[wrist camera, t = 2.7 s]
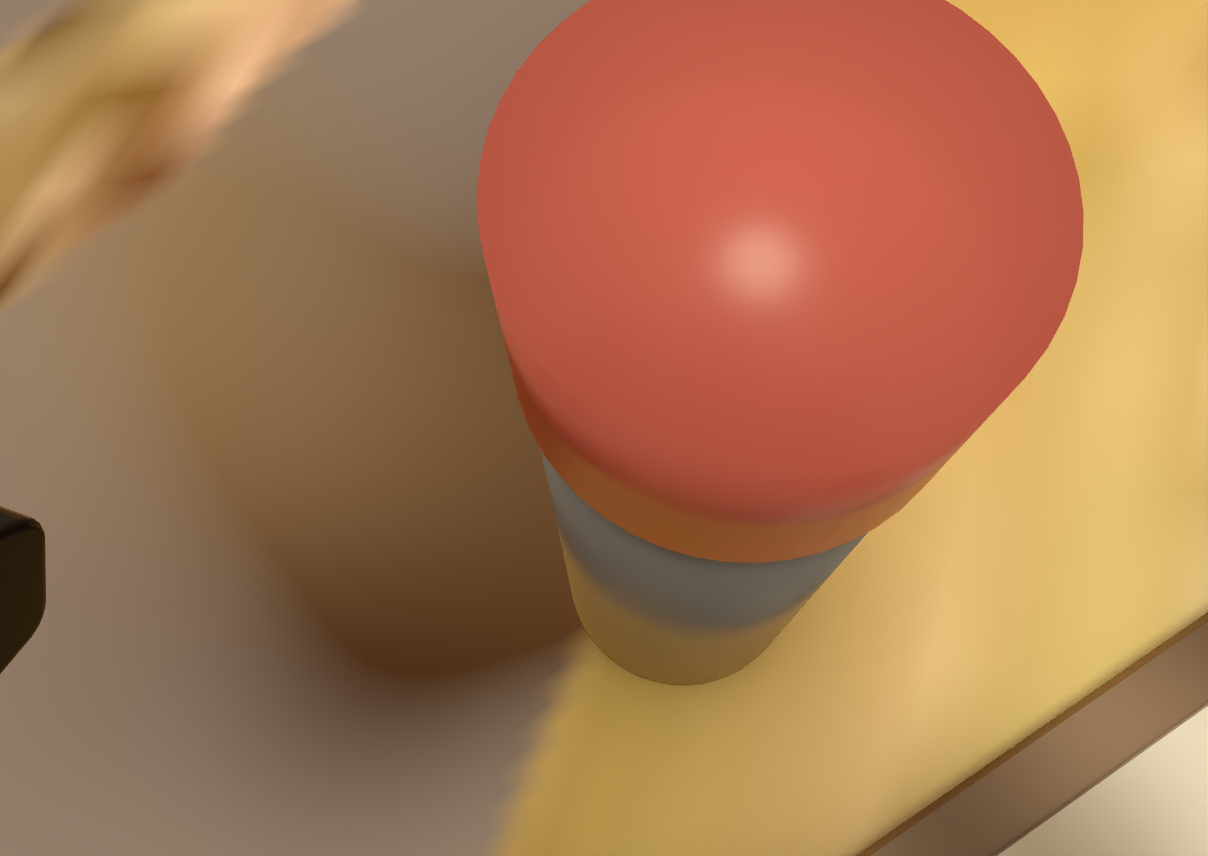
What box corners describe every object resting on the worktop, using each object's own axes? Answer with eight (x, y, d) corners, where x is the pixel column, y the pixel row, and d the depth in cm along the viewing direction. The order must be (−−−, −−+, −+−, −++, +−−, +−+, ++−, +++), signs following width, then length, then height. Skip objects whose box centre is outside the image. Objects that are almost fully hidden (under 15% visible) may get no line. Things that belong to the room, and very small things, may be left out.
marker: (644, 738, 18) (689, 599, 6) (521, 534, 19) (371, 107, 8) (844, 609, 19) (1213, 273, 7) (713, 421, 20) (844, -130, 8)
